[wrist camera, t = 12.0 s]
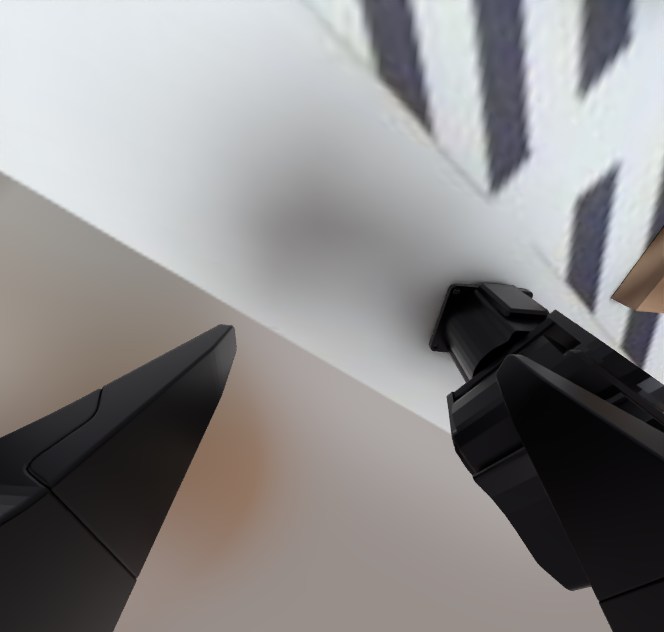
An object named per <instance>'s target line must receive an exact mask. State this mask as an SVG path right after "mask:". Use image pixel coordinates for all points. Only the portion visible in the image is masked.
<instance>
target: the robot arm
mask: <svg viewBox="0 0 664 632" xmlns="http://www.w3.org/2000/svg"><path fill="white" fill-rule="evenodd" d="M455 289H458V290H457V291H456V292H453V291H454V290H455ZM532 297H533V293H532V292H530V291H529V290H527V289H518V288H516V287H515V286H513V285H502V284H490V283H482V284H479V285H468V284H453V285H451V286H450V287H449V289H448V292H447V295H446V298H445V300H444V303H443V306H442V309H441V312H440V315H439V317H438V320H437V323H436V326H435V329H434V332H433V334H432V337H431V340H430V343H429V346H430V348H431V350H432V351H438V352H449V353H450V355H451V357H452V359H453V360H454V362H455V364H456V366H457V368H458V369H459V371H460V373H461V375H462V376H463V378H464V380H465V382H466V383H465V384H464V385H463V386H461V387H460V388H459V389H458V390H456V391H455V392H451V393H450V394H449V395H448V396H447V403H448V411H449V418H450V426H451V434H452V440H453V444H454V447H455V451H456V453H457V454H458V456H459V457H460V459H461V461H462V462H463V464H464V465H465V467H466V468H467V469H468V471H469V472H470V473H471V474H472V475H473V479H474V481H475V482H476V483H477V484H478V485H479V486H480V487H481V488H482V489H483V490H484V491H485V492H486V493H487V494H488V495H489V496H490V497H491V498H492V500H493V501H494V502H495V503H496V505H497V506H498V507H499V508H500V509H501V511H502V512H503V513H504V514H505V516H506V517H507V518H508V520H509V521H510V523H511V524H512V526H513V527H514V528H515V530H516V531H517V533H518V534H519V536H520V538H521V539H522V541H523V542H524V544H525V545H526V547H527V548H528V550H529V551H530V553H531V554H532V555H533V557H534V559H535V560H536V562H537V563H538V564H539V565H540V566H541V567H542V568H543V569H544V570H545V571H546V572H548V573H549V574H550V575H551V576H552V577H553V578H555V579H556V580H557V581H558V582H559V583H560V584H562V586H564V587H565V588H566V589H568V590H570V591H575V590H579V589H583V588H587V587H592V589H593V591H594V593H595V595H596V597H597V599H598V600H599V604H600V606H601V608H602V610H603V613H604V615H605V617H606V619H607V621H608V623H609V625H610V627H611V629H612V631H613V632H664V385H663V384H662V383H660V382H659V381H657V380H656V379H655V378H653V377H652V376H650V375H649V374H647V373H646V372H645V371H643V370H642V369H640V368H639V367H638V366H636V365H635V364H633V363H632V362H630V361H629V360H628V359H626V358H625V357H623V356H622V355H620V354H619V353H618V352H616V351H615V350H613V349H612V348H610V347H609V346H608V345H606V344H605V343H603V342H602V341H600V340H599V339H598V338H596V337H595V336H593V335H592V334H590V333H589V332H587V331H586V330H584V329H583V328H582V327H580V326H579V325H577V324H576V323H574V322H573V321H571V320H570V319H569V318H567V317H566V316H564V315H563V314H561V313H560V312H558V311H557V310H554V311H553V312H552V313H549V311H548V310H547V309H545V308H544V307H543V306H541V305H540V304H538V303H537V302H536V301H534V300H533V299H532ZM434 345H437V346H434ZM236 347H237V346H236V337H235V329H234V327H233V326H232V325H223V324H220V325H218V326H216V327H214V328H212V329H210V330H208V331H207V332H205V333H203V334H201V335H199V336H197V337H195V338H193V339H191V340H190V341H188V342H186V343H184V344H182V345H180V346H178V347H176V348H175V349H173V350H171V351H169V352H167V353H165V354H163V355H162V356H160V357H158V358H156V359H154V360H152V361H150V362H148V363H147V364H145V365H143V366H141V367H139V368H137V369H135V370H133V371H131V372H130V373H128V374H126V375H124V376H122V377H120V378H118V379H116V380H114V381H113V382H111V383H109V384H107V385H105V386H104V387H103V388H102V389H97V390H96V391H94V392H92V393H90V394H88V395H86V396H84V397H82V398H81V399H79V400H77V401H75V402H73V403H71V404H69V405H67V406H65V407H63V408H61V409H59V410H57V411H55V412H53V413H51V414H49V415H47V416H45V417H43V418H41V419H39V420H37V421H35V422H33V423H31V424H29V425H26V426H24V427H23V428H20V429H18V430H16V431H14V432H12V433H10V434H8V435H5V436H3V437H1V438H0V632H113V631H114V628H115V626H116V624H117V622H118V620H119V618H120V615H121V613H122V611H123V609H124V607H125V605H126V602H127V600H128V598H129V595H130V594H131V591H132V589H133V587H134V585H135V583H136V578H137V577H138V576H139V574H140V572H141V569H142V567H143V565H144V563H145V561H146V559H147V556H148V554H149V552H150V550H151V548H152V546H153V544H154V541H155V539H156V537H157V535H158V533H159V531H160V528H161V526H162V524H163V522H164V520H165V517H166V515H167V513H168V511H169V509H170V507H171V504H172V502H173V500H174V498H175V496H176V494H177V491H178V489H179V487H180V485H181V483H182V481H183V479H184V477H185V474H186V472H187V470H188V468H189V466H190V464H191V461H192V459H193V457H194V455H195V453H196V451H197V448H198V446H199V444H200V442H201V440H202V438H203V435H204V433H205V431H206V429H207V427H208V425H209V422H210V420H211V418H212V416H213V414H214V411H215V409H216V407H217V405H218V403H219V400H220V398H221V396H222V393H223V390H224V388H225V385H226V381H227V378H228V375H229V372H230V369H231V366H232V363H233V360H234V357H235V354H236Z"/></svg>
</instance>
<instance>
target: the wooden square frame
mask: <svg viewBox="0 0 664 632" xmlns="http://www.w3.org/2000/svg"><path fill="white" fill-rule="evenodd" d="M612 299H614V300H616V301H618V302H620V303H622V304H623V305H625V306H627V307H629V308H631V309H633V310H635V311H645V312H657V313H664V227H663V228H662V230H661V231H660V233H659V234H658V235H657V237H656V238H655V239H654V241H653V242H652V243H651V245H650V246H649V247H648V249H647V250H646V251H645V253H644V254H643V256H642V257H641V258H640V260H639V261H638V262H637V264H636V265H635V266H634V268H633V269H632V270H631V272H630V273H629V275H628V276H627V277H626V279H625V280H624V281H623V283H622V284H621V285H620V287H619V288H618V289H617V291H616V292H615V293H614V295H613V296H612Z"/></svg>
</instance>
